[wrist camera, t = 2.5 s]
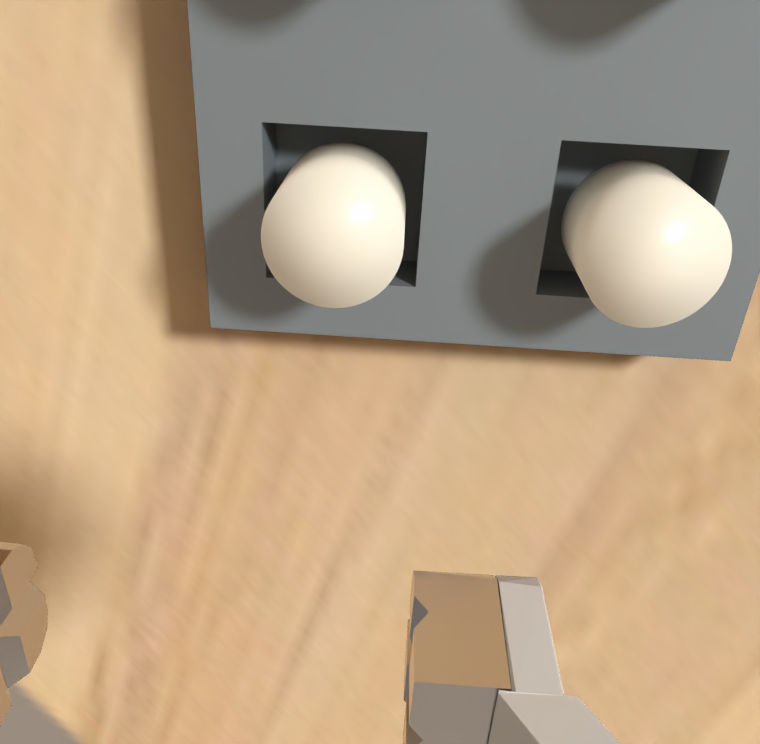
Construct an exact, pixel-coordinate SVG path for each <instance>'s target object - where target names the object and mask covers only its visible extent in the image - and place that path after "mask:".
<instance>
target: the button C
mask: <svg viewBox="0 0 760 744" xmlns="http://www.w3.org/2000/svg"><path fill="white" fill-rule="evenodd" d="M561 237H562V242H563V245H564V248H565V251H566V253H567V255H568V257H569V259H570V260H571V262H572V264H573V266H574V268H575V270H576V272H577V274H578V276H579V278H580V280H581V282H582V284H583V286H584V288H585V290H586V291H587V293H588V295H589V297H590V299H591V301H592V302H593V304H594V305H595V306H596V307H597V308H598V309H599V311H600V312H602V313H603V314H604V315H605V316H607V317H608V318H610V319H612V320H613V321H615V322H618V323H620V324H623V325H627V326H631V327H638V328H653V327H661V326H665V325H669V324H672V323H675V322H678V321H680V320H682V319H684V318H686V317H688V316H690V315H691V314H693V313H695V312H696V311H697V310H699V309H700V308H701V307H703V306H704V305H705V304H706V303H707V302H708V301H709V300H710V299H711V298H712V297H713V296H714V294H715V293H716V292H717V291H718V289H719V288H720V286H721V285H722V283H723V281H724V279H725V277H726V275H727V272H728V269H729V266H730V262H731V257H732V239H731V235H730V231H729V228H728V226H727V223H726V221H725V220H724V218H723V216H722V215H721V214H720V213H719V211H718V210H717V209H716V208H715V207H714V206H712V205H711V204H710V203H709V202H708V201H706V200H705V199H704V198H703V197H702V196H700V195H699V194H698V193H697V192H695V191H694V190H693V189H692V188H691V187H689V186H688V185H687V184H686V183H684V182H683V181H682V180H681V179H680V178H678V177H677V176H676V175H675V174H673V173H672V172H671V171H670V170H668V169H667V168H665V167H664V166H662V165H660V164H657V163H655V162H651V161H648V160H641V159H627V160H620V161H617V162H613V163H610V164H608V165H605V166H603V167H601V168H599V169H597V170H596V171H594V172H593V173H591V174H590V175H588V176H587V177H586V178H585V179H584V180H583V181H582V182H581V183H580V184H579V185H578V186H577V187H576V189H575V190H574V191H573V193H572V194H571V196H570V198H569V200H568V201H567V203H566V206H565V209H564V212H563V216H562V221H561Z"/></svg>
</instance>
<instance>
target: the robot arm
mask: <svg viewBox="0 0 760 744" xmlns="http://www.w3.org/2000/svg"><path fill="white" fill-rule="evenodd" d="M37 568H38V567H37V564H36V560H35V557H34V554H33V550H32V547H29V546H26V545H24V544H18V543H8V542H0V726H1V724H2V722H3V720H4V718H5V717H6V715H7V713H8V711H9V710H10V707H11V706H12V705H11V700H10V696H9V691H8V688H9V687H10V686H12V685H13V684H15V683H16V682H17V681H19V680H20V679H22V678H23V677H24V676H26V675H27V674H29V673H30V671H31V670H32V668H33V666H34V664H35V662H36V660H37V658H38V656H39V654H40V652H41V649H42V645H43V642H44V638H45V634H46V631H47V616H48V609H47V604H46V600H45V595H44V594H43V593H42V592H41V591H40V590H39V589H38V588H37V587H36V586H34V585H33V584H32V583H31V582H30V579H31V578H32V576H33V575H34V573H35V571H36V570H37ZM404 701H405V702H406V708H405V719H404V730H403V744H621V743H620V742H619V741H618V740H617V739H616V738H615V737H614V736H613V735H612V733H611V732H610V731H609V730H608V729H607V728H606V727H605V726H604V725H603V724H602V722H601V721H600V720H599V719H598V718H597V717H596V716H595V715H594V714H593V713H592V711H591V710H590V709H589V708H588V707H587V706H586V705H585V704H584V703H583V702H582V700H581V699H580V698H579V697H578V696H569V695H564V691H563V686H562V681H561V676H560V671H559V667H558V662H557V657H556V652H555V647H554V642H553V637H552V633H551V628H550V623H549V618H548V613H547V608H546V603H545V599H544V594H543V589H542V584H541V583H540V581H539V580H538V579H537V578H535V577H518V576H500V575H496V576H495V577H494V576H493V575H480V574H464V573H447V572H430V571H414V570H413V576H412V584H411V594H410V619H409V620H408V626H407V640H406V653H405V672H404Z"/></svg>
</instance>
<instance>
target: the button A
mask: <svg viewBox="0 0 760 744" xmlns="http://www.w3.org/2000/svg"><path fill="white" fill-rule="evenodd" d="M405 215H406V199H405V192H404V188H403V185H402V182H401V180H400V178H399V176H398V174H397V172H396V171H395V169H394V168H393V167H392V165H391V164H390V163H389V162H388V161H387V160H386V159H385V158H384V157H383V156H382V155H380V154H379V153H378V152H376V151H374V150H373V149H371V148H369V147H366V146H364V145H361V144H357V143H354V142H346V141H337V142H330V143H326V144H322V145H319V146H317V147H315V148H313V149H311V150H310V151H308V152H306V153H305V154H304V155H303V156H301V157H300V158H299V159H298V160H297V162H296V163H295V164H294V165H293V167H292V168H291V170H290V171H289V173H288V174H287V176H286V177H285V179H284V181H283V182H282V184H281V185H280V187H279V189H278V190H277V192H276V193H275V195H274V197H273V198H272V200H271V202H270V203H269V205H268V207H267V209H266V211H265V214H264V217H263V221H262V226H261V245H262V251H263V255H264V258H265V260H266V263H267V265H268V267H269V269H270V271H271V273H272V274H273V275H274V277H275V278H276V280H277V281H278V282H279V283H280V284H281V285H282V286H283V287H284V288H285V289H286V290H287V291H288V292H290V293H291V294H293V295H294V296H296V297H297V298H299V299H301V300H303V301H305V302H307V303H310V304H313V305H316V306H320V307H327V308H345V307H351V306H355V305H359V304H361V303H364V302H366V301H368V300H370V299H372V298H374V297H375V296H376V295H378V294H379V293H380V292H382V291H383V290H384V289H385V288H386V287H387V286H388V284H389V283H390V282H391V281H392V279H393V278H394V276H395V274H396V273H397V271H398V268H399V266H400V264H401V260H402V256H403V250H404V235H405Z"/></svg>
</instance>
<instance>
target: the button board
mask: <svg viewBox="0 0 760 744" xmlns="http://www.w3.org/2000/svg"><path fill="white" fill-rule="evenodd" d="M187 6H188V20H189V34H190V48H191V62H192V76H193V90H194V104H195V118H196V131H197V145H198V159H199V173H200V187H201V201H202V215H203V229H204V243H205V257H206V271H207V285H208V298H209V312H210V326H211V328H224V329H239V330H255V331H270V332H286V333H301V334H317V335H332V336H348V337H363V338H379V339H394V340H410V341H425V342H441V343H456V344H471V345H487V346H502V347H518V348H533V349H549V350H564V351H580V352H595V353H611V354H626V355H642V356H657V357H673V358H688V359H704V360H719V361H731V358H732V355H733V352H734V349H735V346H736V343H737V340H738V337H739V334H740V330H741V327H742V324H743V321H744V318H745V315H746V312H747V309H748V306H749V303H750V300H751V297H752V293H753V290H754V287H755V284H756V281H757V278H758V275H759V272H760V0H187ZM337 141H346V142H354V143H357V144H361V145H364V146H366V147H369V148H371V149H373V150H374V151H376V152H378V153H379V154H380V155H382V156H383V157H384V158H385V159H386V160H387V161H388V162H389V163H390V164H391V165H392V167H393V168H394V169H395V171H396V172H397V174H398V176H399V178H400V180H401V182H402V185H403V188H404V192H405V199H406V215H405V235H404V250H403V256H402V260H401V264H400V266H399V268H398V271H397V273H396V274H395V276H394V278H393V279H392V281H391V282H390V283H389V284H388V286H387V287H386V288H385V289H384V290H383V291H382V292H380V293H379V294H378V295H376V296H375V297H374V298H372V299H370V300H368V301H366V302H364V303H361V304H359V305H355V306H351V307H345V308H327V307H320V306H316V305H313V304H310V303H307V302H305V301H303V300H301V299H299V298H297V297H296V296H294V295H293V294H291V293H290V292H288V291H287V290H286V289H285V288H284V287H283V286H282V285H281V284H280V283H279V282H278V281H277V280H276V278H275V277H274V275H273V274H272V273H271V271H270V269H269V267H268V265H267V263H266V260H265V258H264V255H263V251H262V245H261V226H262V221H263V217H264V214H265V211H266V209H267V207H268V205H269V203H270V202H271V200H272V198H273V197H274V195H275V193H276V192H277V190H278V189H279V187H280V185H281V184H282V182H283V181H284V179H285V177H286V176H287V174H288V173H289V171H290V170H291V168H292V167H293V165H294V164H295V163H296V162H297V160H298V159H299V158H300V157H301V156H303V155H304V154H305V153H306V152H308V151H310V150H311V149H313V148H315V147H317V146H319V145H322V144H326V143H330V142H337ZM627 159H641V160H648V161H651V162H655V163H657V164H660V165H662V166H664V167H665V168H667V169H668V170H670V171H671V172H672V173H673V174H675V175H676V176H677V177H678V178H680V179H681V180H682V181H683V182H684V183H686V184H687V185H688V186H689V187H691V188H692V189H693V190H694V191H695V192H697V193H698V194H699V195H700V196H702V197H703V198H704V199H705V200H706V201H708V202H709V203H710V204H711V205H712V206H714V207H715V208H716V209H717V210H718V211H719V213H720V214H721V215H722V216H723V218H724V220H725V221H726V223H727V226H728V228H729V231H730V235H731V239H732V257H731V262H730V266H729V269H728V272H727V275H726V277H725V279H724V281H723V283H722V285H721V286H720V288H719V289H718V291H717V292H716V293H715V294H714V296H713V297H712V298H711V299H710V300H709V301H708V302H707V303H706V304H705V305H704V306H703V307H701V308H700V309H699V310H697V311H696V312H695V313H693V314H691V315H690V316H688V317H686V318H684V319H682V320H680V321H678V322H675V323H672V324H669V325H665V326H661V327H653V328H638V327H631V326H627V325H623V324H620V323H618V322H615V321H613V320H612V319H610V318H608V317H607V316H605V315H604V314H603V313H602V312H600V311H599V309H598V308H597V307H596V306H595V305H594V304H593V302H592V301H591V299H590V297H589V295H588V293H587V291H586V290H585V288H584V286H583V284H582V282H581V280H580V278H579V276H578V274H577V272H576V270H575V268H574V266H573V264H572V262H571V260H570V259H569V257H568V255H567V253H566V251H565V248H564V245H563V242H562V237H561V221H562V216H563V212H564V209H565V206H566V203H567V201H568V200H569V198H570V196H571V194H572V193H573V191H574V190H575V189H576V187H577V186H578V185H579V184H580V183H581V182H582V181H583V180H584V179H585V178H586V177H587V176H588V175H590V174H591V173H593V172H594V171H596V170H597V169H599V168H601V167H603V166H605V165H608V164H610V163H613V162H617V161H620V160H627Z"/></svg>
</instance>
